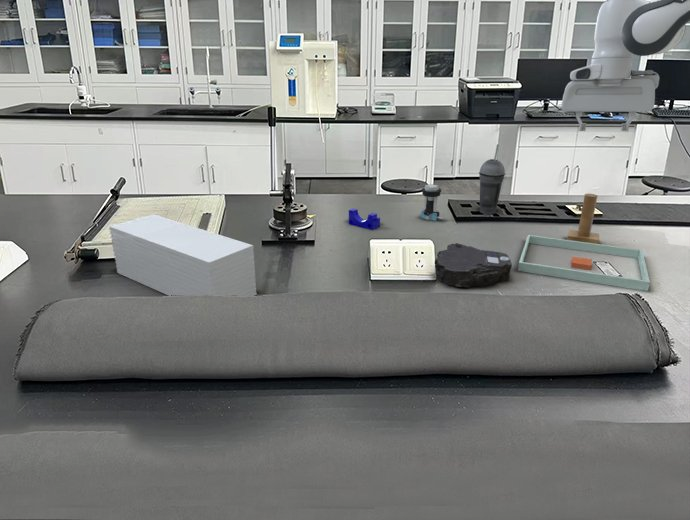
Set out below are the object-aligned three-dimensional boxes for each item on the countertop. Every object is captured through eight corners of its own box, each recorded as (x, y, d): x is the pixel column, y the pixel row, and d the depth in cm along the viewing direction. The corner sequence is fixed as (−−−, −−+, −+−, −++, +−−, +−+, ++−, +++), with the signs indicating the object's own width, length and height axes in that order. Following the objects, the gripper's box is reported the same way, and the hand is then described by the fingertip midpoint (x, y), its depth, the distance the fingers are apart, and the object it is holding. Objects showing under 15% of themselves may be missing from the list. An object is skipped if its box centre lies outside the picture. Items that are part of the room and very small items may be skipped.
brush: (596, 244, 132) (607, 194, 127) (597, 251, 128) (607, 199, 123) (566, 240, 135) (575, 190, 130) (566, 247, 130) (574, 196, 125)
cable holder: (379, 226, 144) (380, 212, 143) (372, 230, 142) (372, 215, 140) (356, 220, 149) (356, 207, 147) (348, 224, 146) (348, 210, 145)
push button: (446, 221, 149) (449, 186, 145) (437, 225, 145) (440, 190, 141) (425, 216, 153) (428, 182, 149) (416, 221, 149) (418, 186, 145)
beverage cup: (491, 207, 161) (499, 140, 153) (505, 214, 155) (514, 145, 147) (470, 209, 159) (477, 142, 151) (483, 216, 153) (491, 146, 145)
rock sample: (465, 299, 104) (467, 276, 102) (414, 271, 116) (415, 250, 115) (525, 279, 113) (528, 258, 111) (472, 255, 125) (474, 236, 123)
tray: (639, 260, 123) (642, 249, 122) (647, 293, 107) (650, 282, 106) (526, 244, 132) (527, 234, 131) (517, 273, 116) (518, 262, 115)
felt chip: (590, 263, 119) (591, 259, 119) (590, 270, 116) (591, 265, 115) (571, 261, 121) (572, 256, 120) (570, 267, 117) (571, 262, 117)
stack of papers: (117, 273, 115) (109, 226, 111) (159, 258, 123) (153, 213, 119) (214, 316, 98) (209, 262, 93) (256, 295, 105) (253, 245, 101)
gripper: (659, 69, 124) (649, 130, 129) (565, 72, 132) (559, 129, 137) (662, 69, 119) (652, 132, 123) (564, 72, 127) (558, 131, 131)
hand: (603, 131), depth 130 cm, fingers open, 8 cm apart
